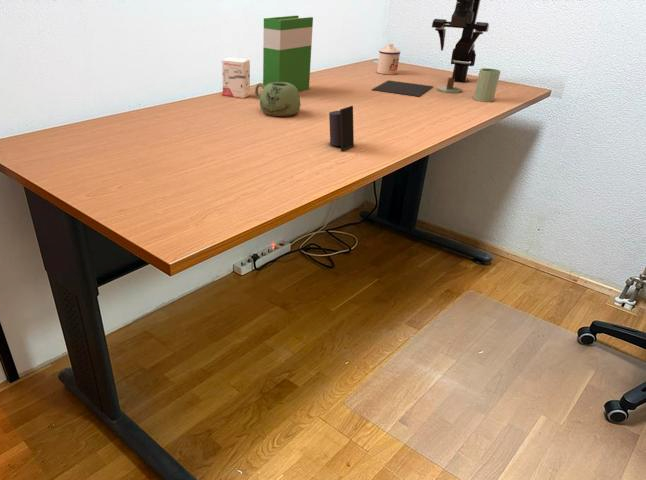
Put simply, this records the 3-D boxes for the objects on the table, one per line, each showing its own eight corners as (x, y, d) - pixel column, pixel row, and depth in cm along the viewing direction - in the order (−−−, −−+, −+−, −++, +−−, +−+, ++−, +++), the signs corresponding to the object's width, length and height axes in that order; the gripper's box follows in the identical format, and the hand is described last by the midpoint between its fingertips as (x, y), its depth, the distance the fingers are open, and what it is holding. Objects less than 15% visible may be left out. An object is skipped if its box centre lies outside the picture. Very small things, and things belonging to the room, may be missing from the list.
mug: (307, 111, 160) (309, 83, 155) (285, 120, 151) (286, 90, 146) (266, 103, 167) (267, 76, 162) (243, 111, 158) (243, 82, 153)
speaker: (360, 147, 130) (360, 106, 125) (342, 151, 128) (341, 109, 123) (342, 141, 136) (342, 102, 131) (325, 145, 134) (324, 105, 129)
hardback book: (293, 85, 192) (296, 15, 179) (309, 88, 188) (313, 17, 175) (263, 92, 180) (263, 18, 167) (278, 96, 176) (280, 20, 164)
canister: (475, 96, 186) (481, 67, 181) (494, 98, 183) (502, 69, 178) (471, 99, 181) (478, 70, 175) (491, 102, 178) (499, 72, 173)
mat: (388, 81, 204) (388, 80, 204) (432, 87, 197) (432, 86, 197) (371, 90, 189) (372, 89, 189) (418, 96, 182) (419, 96, 182)
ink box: (221, 95, 175) (220, 59, 169) (228, 92, 179) (227, 56, 172) (244, 98, 172) (243, 61, 166) (250, 95, 176) (250, 59, 170)
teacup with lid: (392, 75, 214) (396, 46, 207) (372, 72, 218) (376, 43, 212) (403, 71, 222) (407, 43, 216) (384, 69, 226) (388, 41, 220)
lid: (440, 86, 198) (442, 75, 196) (462, 89, 195) (465, 77, 192) (435, 90, 191) (437, 78, 189) (458, 94, 188) (460, 81, 186)
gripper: (433, 0, 170) (424, 50, 178) (491, 4, 164) (479, 55, 171) (439, 1, 179) (430, 49, 187) (493, 5, 173) (482, 54, 180)
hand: (454, 51), depth 181 cm, fingers open, 9 cm apart
